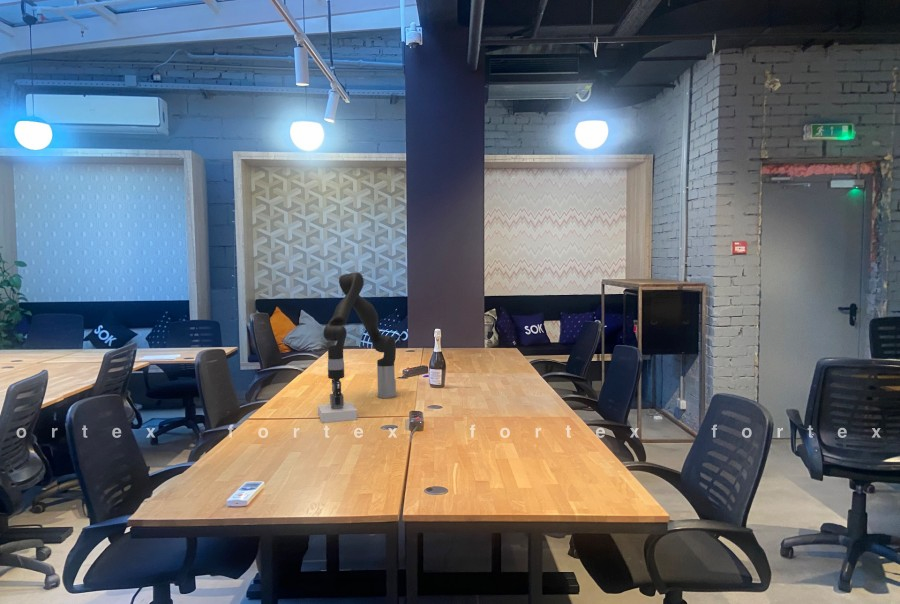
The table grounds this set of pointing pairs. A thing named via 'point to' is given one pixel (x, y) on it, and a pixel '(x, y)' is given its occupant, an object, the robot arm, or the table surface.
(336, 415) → the socket block
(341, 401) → the plug
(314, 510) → the table surface
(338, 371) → the robot arm
